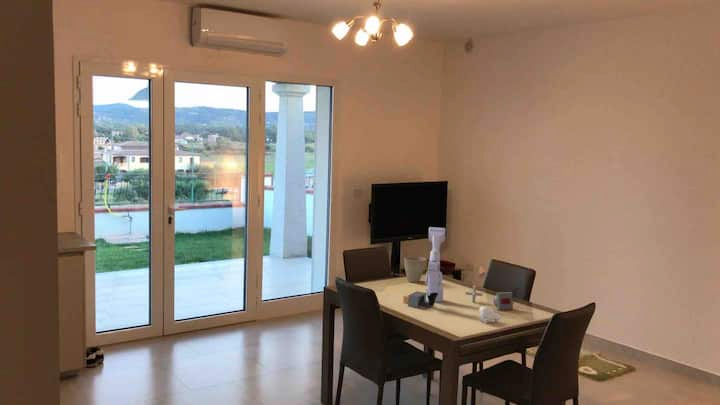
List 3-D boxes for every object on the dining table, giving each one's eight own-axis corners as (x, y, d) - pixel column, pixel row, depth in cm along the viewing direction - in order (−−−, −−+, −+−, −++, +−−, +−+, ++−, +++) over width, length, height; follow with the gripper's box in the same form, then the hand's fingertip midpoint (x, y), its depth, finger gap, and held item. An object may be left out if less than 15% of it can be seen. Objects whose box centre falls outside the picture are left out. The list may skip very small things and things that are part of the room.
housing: (425, 303, 356) (426, 292, 356) (417, 307, 346) (418, 296, 345) (416, 301, 359) (416, 291, 359) (407, 306, 349) (408, 295, 348)
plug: (430, 306, 351) (431, 299, 350) (427, 307, 347) (428, 300, 347) (406, 301, 359) (406, 294, 359) (403, 302, 356) (403, 295, 356)
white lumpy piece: (478, 304, 326) (498, 306, 329) (475, 320, 326) (496, 321, 329) (483, 307, 320) (504, 309, 323) (480, 323, 320) (501, 325, 323)
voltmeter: (508, 312, 346) (509, 295, 345) (489, 309, 352) (490, 292, 351) (522, 303, 369) (523, 287, 368) (504, 300, 375) (505, 284, 374)
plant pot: (427, 281, 418) (428, 258, 416) (420, 285, 404) (421, 261, 403) (406, 278, 424) (408, 255, 423) (399, 281, 410) (400, 258, 409)
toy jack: (482, 305, 360) (483, 288, 359) (464, 303, 362) (466, 286, 361) (482, 301, 370) (483, 284, 369) (465, 299, 372) (466, 283, 371)
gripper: (431, 279, 355) (429, 301, 356) (421, 283, 342) (420, 306, 344) (442, 280, 352) (440, 303, 353) (433, 285, 339) (431, 309, 340)
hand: (431, 305), depth 348 cm, fingers closed
